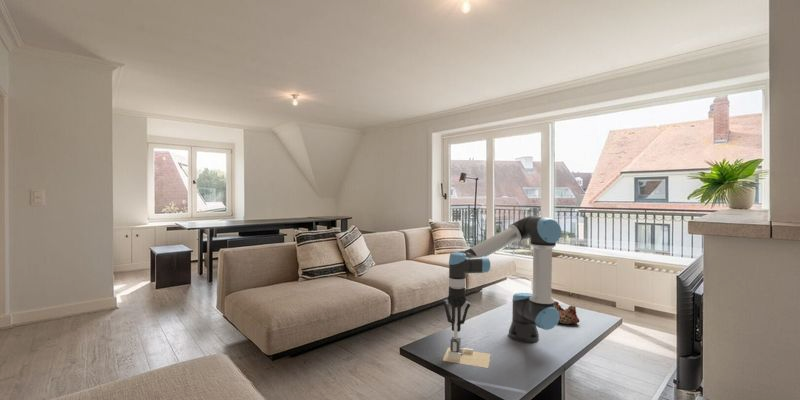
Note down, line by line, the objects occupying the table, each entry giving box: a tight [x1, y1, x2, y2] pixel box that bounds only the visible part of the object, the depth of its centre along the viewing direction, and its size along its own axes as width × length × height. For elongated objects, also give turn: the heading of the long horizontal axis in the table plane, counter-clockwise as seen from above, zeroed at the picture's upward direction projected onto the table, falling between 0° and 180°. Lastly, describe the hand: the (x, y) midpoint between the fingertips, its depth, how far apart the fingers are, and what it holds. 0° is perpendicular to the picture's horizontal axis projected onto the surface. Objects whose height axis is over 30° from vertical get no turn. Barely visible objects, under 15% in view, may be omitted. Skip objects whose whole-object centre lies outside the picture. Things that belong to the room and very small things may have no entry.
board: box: [442, 346, 492, 369], centre depth 159 cm, size 20×14×4 cm
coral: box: [554, 300, 580, 325], centre depth 210 cm, size 18×13×15 cm
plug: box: [449, 336, 462, 353], centre depth 159 cm, size 4×5×8 cm
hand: (455, 337), depth 159 cm, fingers closed
